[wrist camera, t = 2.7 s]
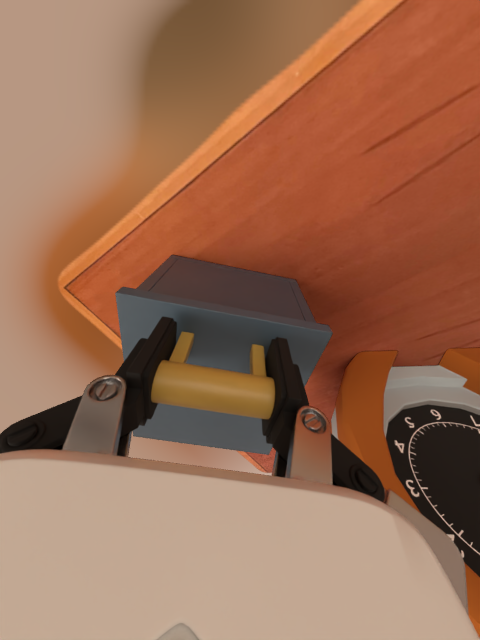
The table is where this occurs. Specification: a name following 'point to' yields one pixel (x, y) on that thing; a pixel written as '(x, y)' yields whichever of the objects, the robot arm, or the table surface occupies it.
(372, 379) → the alarm clock
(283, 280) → the chest
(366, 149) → the table surface
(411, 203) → the table surface
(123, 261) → the table surface
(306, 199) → the table surface
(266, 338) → the lid
